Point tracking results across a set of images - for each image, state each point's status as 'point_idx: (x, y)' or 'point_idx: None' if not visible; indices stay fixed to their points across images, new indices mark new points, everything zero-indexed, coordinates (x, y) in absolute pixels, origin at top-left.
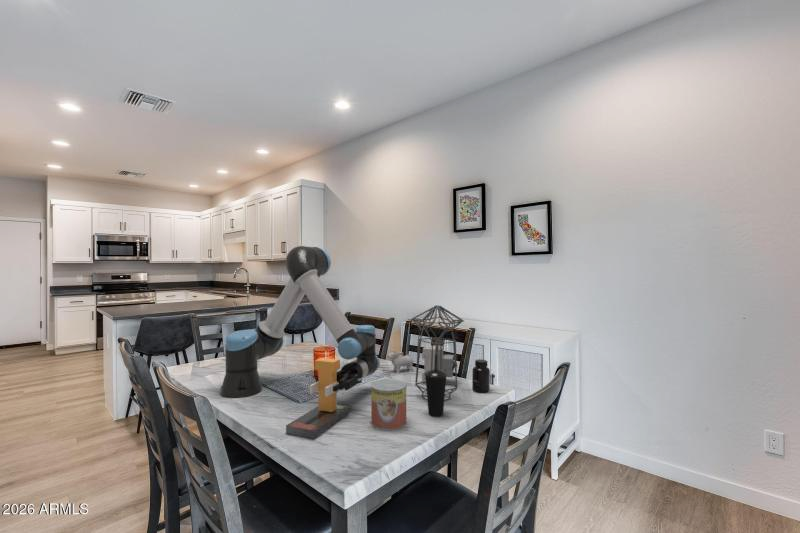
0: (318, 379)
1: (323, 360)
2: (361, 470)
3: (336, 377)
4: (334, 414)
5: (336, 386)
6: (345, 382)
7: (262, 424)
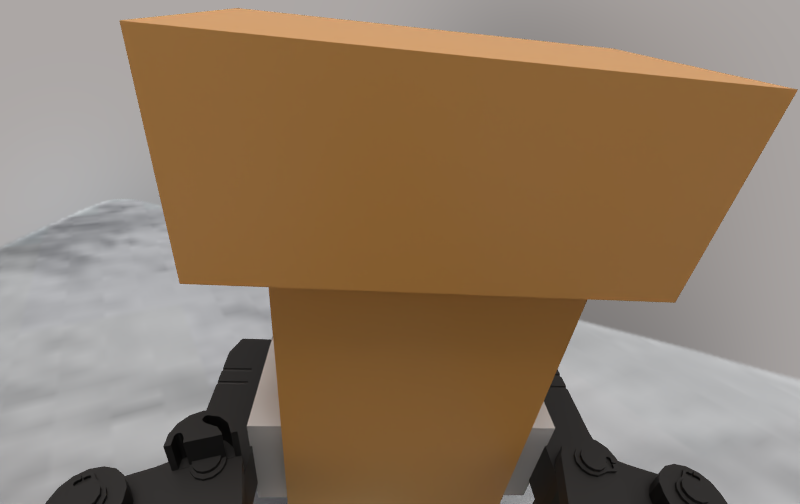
0: (651, 487)
1: (492, 38)
2: (66, 238)
3: (279, 391)
4: (274, 499)
5: (238, 356)
6: (106, 474)
7: (612, 364)
